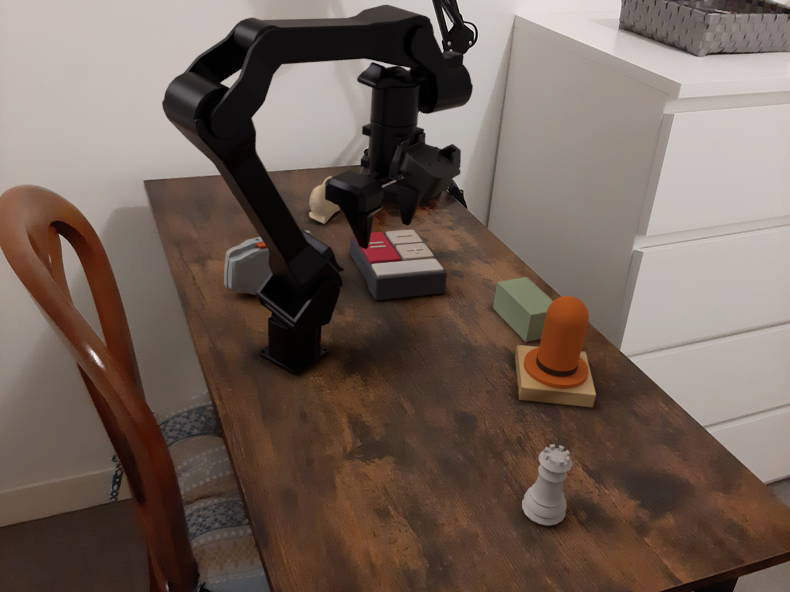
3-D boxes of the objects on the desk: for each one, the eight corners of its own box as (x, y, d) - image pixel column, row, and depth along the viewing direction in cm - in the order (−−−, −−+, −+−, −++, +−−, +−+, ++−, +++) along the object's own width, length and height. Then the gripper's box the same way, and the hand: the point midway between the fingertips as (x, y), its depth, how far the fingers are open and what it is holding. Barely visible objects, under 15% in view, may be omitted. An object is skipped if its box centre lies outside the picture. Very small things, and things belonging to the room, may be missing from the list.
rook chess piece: (559, 495, 79) (574, 438, 75) (569, 529, 75) (585, 470, 71) (517, 494, 79) (530, 436, 75) (525, 527, 75) (538, 469, 71)
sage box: (525, 342, 103) (531, 314, 101) (492, 308, 110) (497, 281, 107) (556, 336, 105) (562, 308, 102) (521, 302, 112) (526, 276, 109)
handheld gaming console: (312, 271, 115) (312, 223, 111) (321, 279, 113) (322, 232, 109) (222, 294, 108) (220, 244, 104) (231, 303, 106) (228, 253, 102)
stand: (519, 400, 92) (521, 387, 91) (514, 356, 100) (517, 344, 99) (592, 407, 92) (596, 395, 91) (582, 363, 100) (585, 351, 99)
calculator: (415, 226, 122) (448, 267, 110) (413, 250, 124) (445, 293, 112) (349, 231, 119) (376, 274, 107) (348, 256, 121) (374, 300, 109)
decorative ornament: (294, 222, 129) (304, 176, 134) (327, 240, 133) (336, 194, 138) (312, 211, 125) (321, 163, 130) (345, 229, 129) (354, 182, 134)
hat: (526, 385, 92) (540, 313, 86) (521, 347, 98) (534, 279, 93) (592, 391, 91) (611, 321, 86) (582, 353, 98) (599, 285, 93)
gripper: (403, 157, 80) (392, 284, 88) (491, 118, 93) (475, 232, 101) (323, 131, 85) (320, 252, 93) (417, 97, 98) (407, 206, 107)
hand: (385, 235), depth 98 cm, fingers open, 9 cm apart
